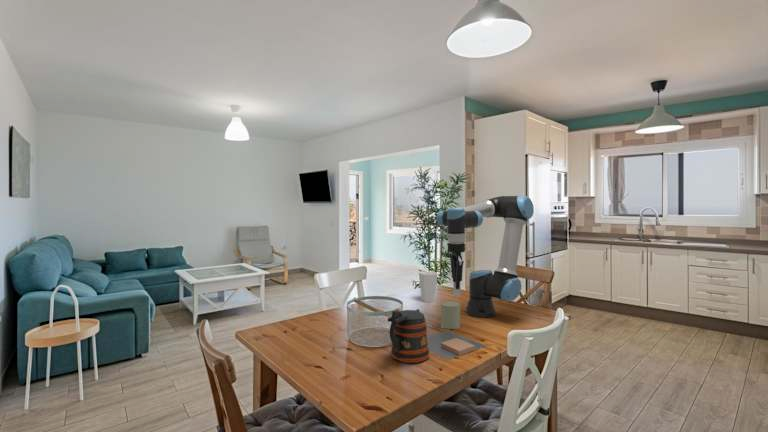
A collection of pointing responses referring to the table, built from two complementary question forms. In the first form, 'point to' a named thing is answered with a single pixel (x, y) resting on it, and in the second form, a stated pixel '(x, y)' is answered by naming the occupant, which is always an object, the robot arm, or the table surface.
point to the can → (450, 315)
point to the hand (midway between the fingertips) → (456, 295)
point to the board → (438, 338)
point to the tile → (458, 346)
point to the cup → (428, 285)
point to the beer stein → (408, 336)
